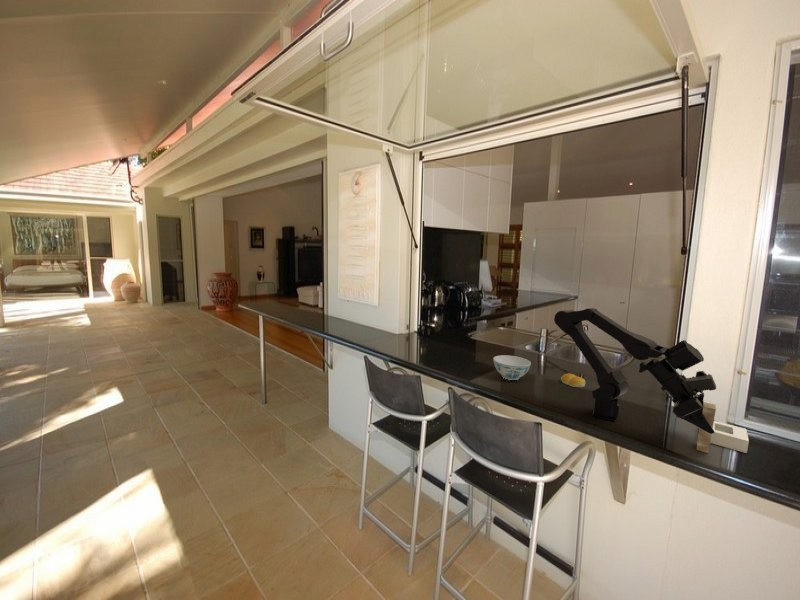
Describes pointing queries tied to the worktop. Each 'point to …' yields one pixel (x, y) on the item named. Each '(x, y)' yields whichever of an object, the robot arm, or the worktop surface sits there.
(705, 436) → the slat
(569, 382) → the bread roll
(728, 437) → the end cap
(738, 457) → the worktop surface
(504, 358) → the chinaware
